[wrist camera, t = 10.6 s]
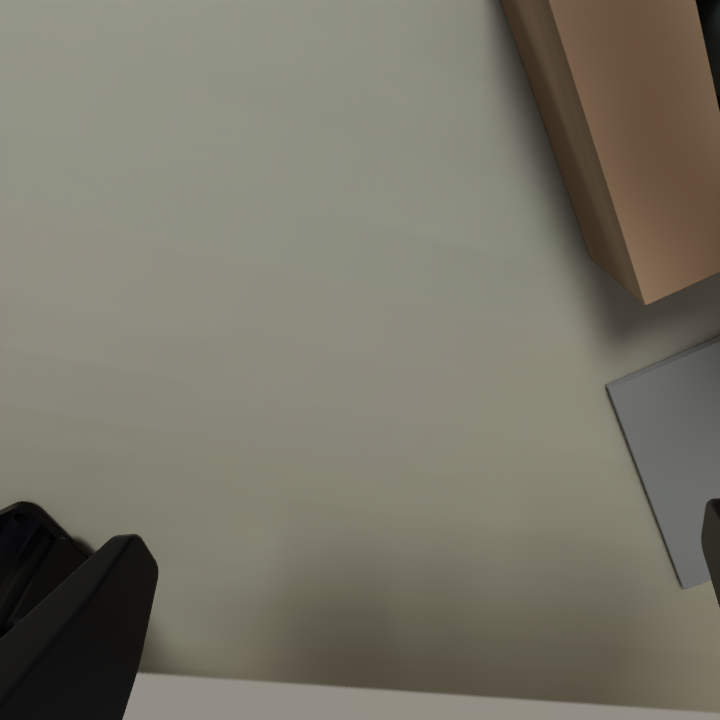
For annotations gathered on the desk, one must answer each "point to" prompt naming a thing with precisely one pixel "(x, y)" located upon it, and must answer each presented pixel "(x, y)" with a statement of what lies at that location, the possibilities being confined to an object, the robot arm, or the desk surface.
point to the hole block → (630, 132)
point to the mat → (676, 446)
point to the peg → (711, 36)
